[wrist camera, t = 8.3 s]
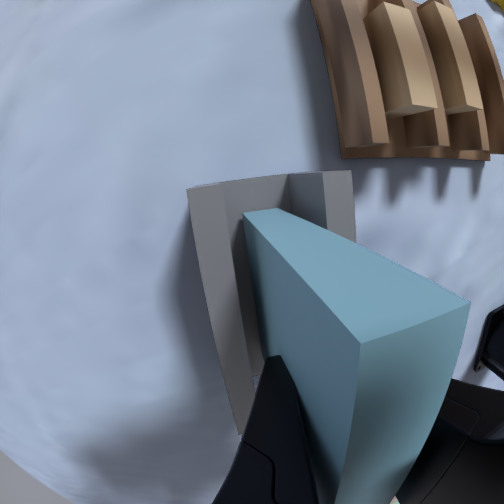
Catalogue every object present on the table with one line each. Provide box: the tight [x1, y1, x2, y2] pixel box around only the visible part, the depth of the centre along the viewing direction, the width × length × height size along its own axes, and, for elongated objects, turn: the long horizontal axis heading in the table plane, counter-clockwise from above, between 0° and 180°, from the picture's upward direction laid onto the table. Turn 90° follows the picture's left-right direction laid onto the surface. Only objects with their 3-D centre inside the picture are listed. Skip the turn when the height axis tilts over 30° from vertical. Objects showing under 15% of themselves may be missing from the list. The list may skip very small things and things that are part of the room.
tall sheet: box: [242, 208, 471, 504], centre depth 8 cm, size 7×2×10 cm, turn 8°
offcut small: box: [362, 2, 438, 119], centre depth 10 cm, size 5×2×4 cm, turn 7°
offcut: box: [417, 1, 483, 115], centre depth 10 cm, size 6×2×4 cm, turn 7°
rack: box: [310, 0, 504, 161], centre depth 10 cm, size 11×12×3 cm
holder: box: [186, 170, 356, 435], centre depth 11 cm, size 10×5×4 cm, turn 8°
